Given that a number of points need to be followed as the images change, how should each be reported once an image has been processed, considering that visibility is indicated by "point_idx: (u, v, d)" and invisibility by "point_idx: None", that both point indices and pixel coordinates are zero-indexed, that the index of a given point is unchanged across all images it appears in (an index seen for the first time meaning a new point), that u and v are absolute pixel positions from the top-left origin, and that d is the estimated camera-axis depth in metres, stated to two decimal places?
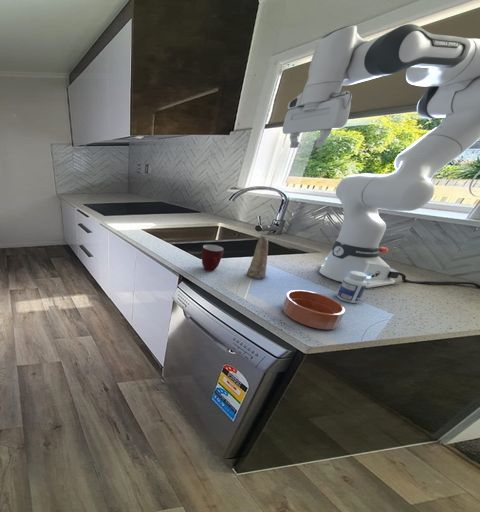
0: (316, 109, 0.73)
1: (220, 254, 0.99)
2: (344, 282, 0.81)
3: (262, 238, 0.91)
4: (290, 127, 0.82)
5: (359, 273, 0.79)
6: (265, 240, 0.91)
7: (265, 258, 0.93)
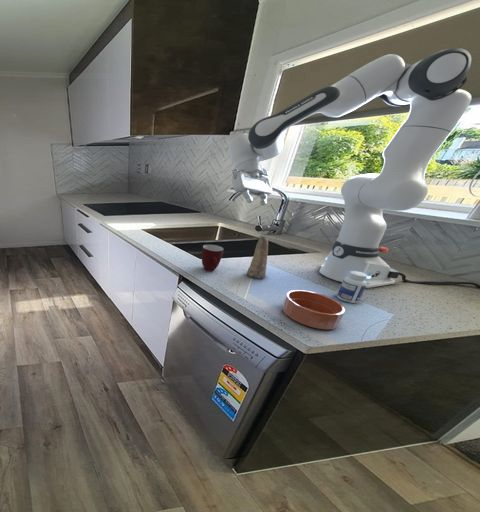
0: None
1: (220, 254, 0.99)
2: (344, 282, 0.81)
3: (262, 238, 0.91)
4: None
5: (359, 273, 0.79)
6: (265, 240, 0.91)
7: (265, 258, 0.93)
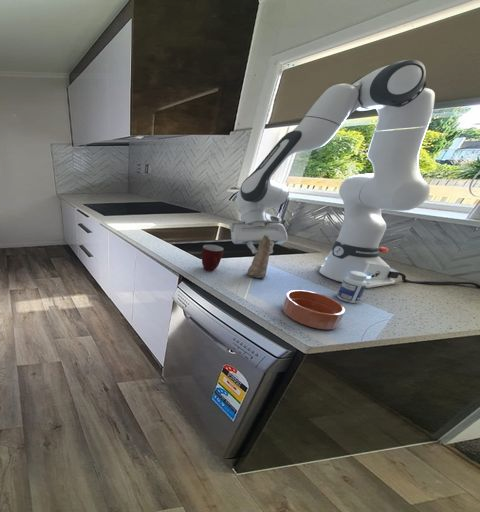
0: None
1: (220, 254, 0.99)
2: (344, 282, 0.81)
3: (265, 237, 0.91)
4: None
5: (359, 273, 0.79)
6: (268, 239, 0.91)
7: (267, 258, 0.93)
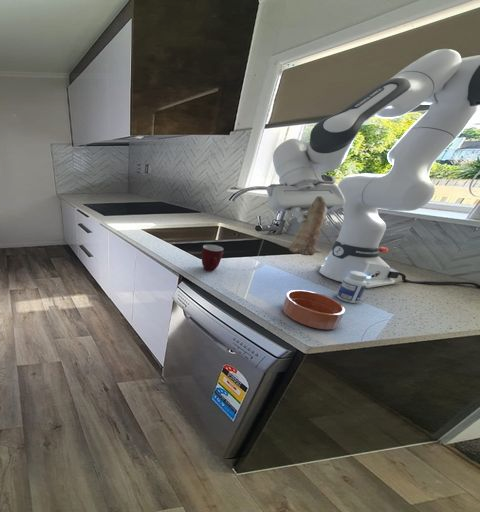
0: None
1: (220, 254, 0.99)
2: (344, 282, 0.81)
3: (319, 199, 0.69)
4: None
5: (359, 273, 0.79)
6: (322, 202, 0.68)
7: (319, 227, 0.71)
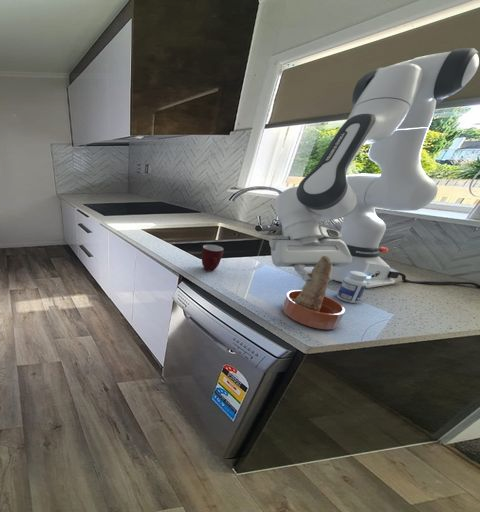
0: None
1: (220, 254, 0.99)
2: (344, 282, 0.81)
3: (324, 260, 0.65)
4: None
5: (359, 273, 0.79)
6: (329, 263, 0.65)
7: (325, 288, 0.67)
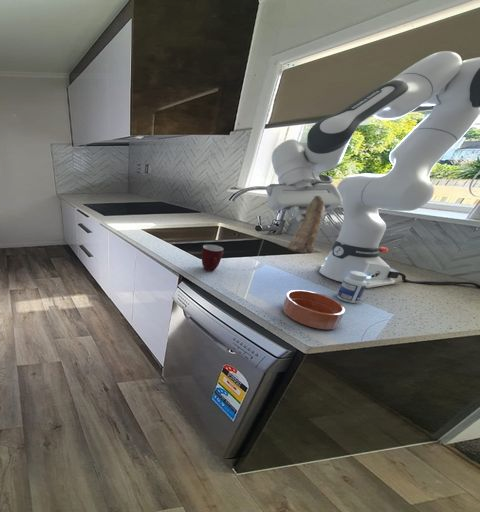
0: None
1: (220, 254, 0.99)
2: (344, 282, 0.81)
3: (317, 199, 0.71)
4: None
5: (359, 273, 0.79)
6: (321, 201, 0.70)
7: (317, 226, 0.73)
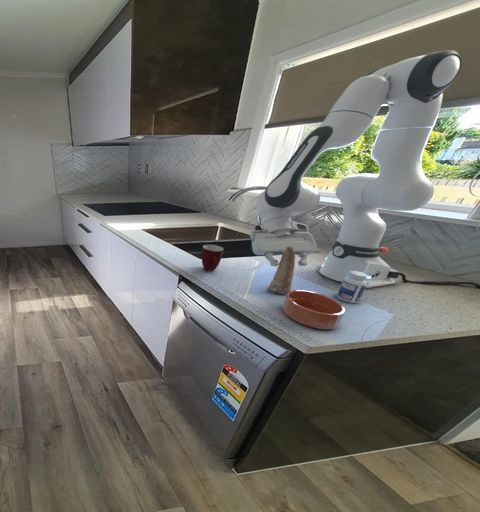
0: None
1: (220, 254, 0.99)
2: (344, 282, 0.81)
3: (289, 249, 0.80)
4: None
5: (359, 273, 0.79)
6: (292, 252, 0.80)
7: (291, 272, 0.82)
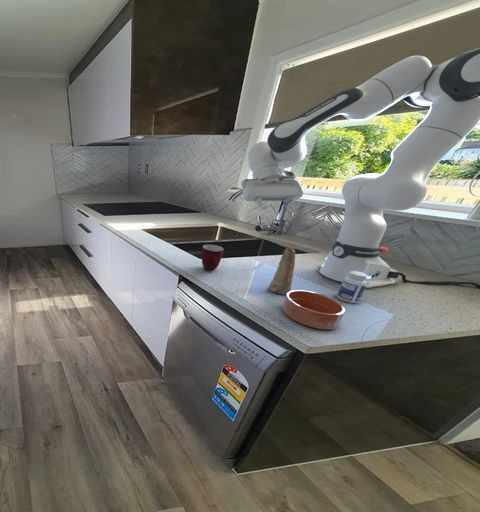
0: None
1: (220, 254, 0.99)
2: (344, 282, 0.81)
3: (289, 249, 0.80)
4: None
5: (359, 273, 0.79)
6: (292, 252, 0.80)
7: (291, 272, 0.82)
